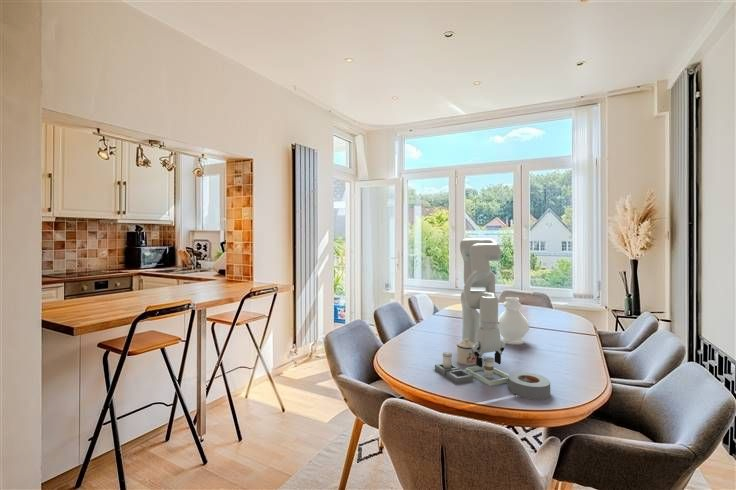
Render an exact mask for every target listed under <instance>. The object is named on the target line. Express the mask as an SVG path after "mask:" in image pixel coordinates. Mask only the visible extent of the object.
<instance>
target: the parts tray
mask: <svg viewBox="0 0 736 490" xmlns="http://www.w3.org/2000/svg"><path fill="white" fill-rule="evenodd" d="M482 370H483V371H484V364H482V367H479V366H477V365H475V366H469V367H465V368H464V371H466V372H468V373H469V374H471V375H473V378H476V379H477V380H479V381H480V382H482V383H484V384H486V385H488V386H489V387H491V386H492V387H493V386H497V385H503V384H508V375H509V374H508V373H506V372H504V371H502V370H499V369H498V368H495V367H494V370H493V374H494V373H495V374H497V375H499V376H500V377H502V378H498V379H493V380H490V379H489V378H486V377H484V376H482V375H480V374H479V373H477V371H482Z"/></svg>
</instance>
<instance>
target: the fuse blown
mask: <svg viewBox="0 0 736 490" xmlns="http://www.w3.org/2000/svg"><path fill="white" fill-rule="evenodd" d="M494 358H495V357H492V356H484V357H483V365H484V369H483V377H484V378H486V379H493V378H494V377H495V376H494V375H495V374H494V372H493V370H494V368H495V367H494V362H495V361H494Z"/></svg>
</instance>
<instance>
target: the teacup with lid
mask: <svg viewBox="0 0 736 490" xmlns="http://www.w3.org/2000/svg"><path fill="white" fill-rule="evenodd" d="M474 345H475V343H472V342H471V341H469V339H464V341H458V342H457V343H456V350H457V351H456V353H457V354H456V356H457V357H456V361H457V363H458V364H461V365H465V366H466V365H467V366H472V365H475V364H476V356H475V355H474V354H473V352H472V349H471V347H472V346H474Z"/></svg>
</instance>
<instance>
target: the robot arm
mask: <svg viewBox="0 0 736 490" xmlns="http://www.w3.org/2000/svg"><path fill="white" fill-rule="evenodd" d="M459 251H460V254H461V257H462V259H463V283H464V286H463V291H462V292H461V294H460V302H461V312H462V327H461V328H462V329H461V332H462V335H461V336H462V341H464V339H469V341H471V342H472V343H475V345H474V346H472V347H471V349H472V352H473V354H474V355H475V356H476V363H475V364H476V365H475V366H479V367H482V365H483V355H484V354H487V353H494V357H493V358H494V361H493V362H494V363H496V364H498V365H501V364H502V361H501V360H502V355H503V351H504V350H505V348H506V347H505V346H506V345H507V343H504V342H502V341H501V334H500V331H499V328H498V324H499V321H498V317H499V297H498V296H497V294H496V277H495V273H494V272H493V271H492V270H491V266H490V265H491V264H490V261H491V262H493V261H494V262H495V261H496V262H497V261H499V260H500V259H501V257H502V250H501V247H500V245H499V243H498V242H497V241H496V240H495V239H493V238H463V239H462V240H460V242H459ZM471 288H472V289H471ZM475 288H477V289H475ZM479 288H481V289H479ZM482 288H483V289H482ZM462 341H461V342H462Z"/></svg>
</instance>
